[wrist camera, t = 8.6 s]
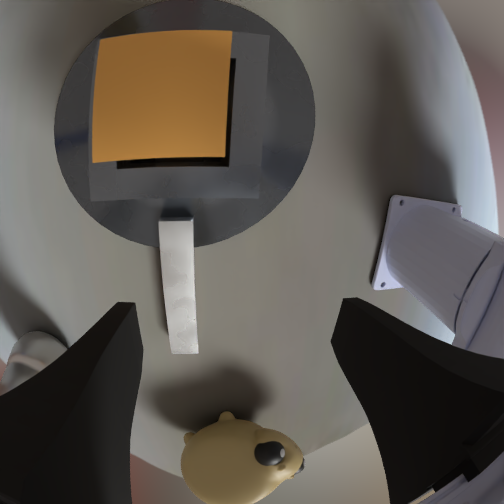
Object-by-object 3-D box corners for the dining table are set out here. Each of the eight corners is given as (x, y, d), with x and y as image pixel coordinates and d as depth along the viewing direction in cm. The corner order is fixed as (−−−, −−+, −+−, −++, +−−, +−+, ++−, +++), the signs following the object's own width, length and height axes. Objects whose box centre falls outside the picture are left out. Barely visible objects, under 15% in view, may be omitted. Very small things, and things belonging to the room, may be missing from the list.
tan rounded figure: (297, 419, 28) (325, 493, 19) (211, 450, 29) (221, 520, 19) (263, 380, 24) (293, 479, 15) (162, 418, 25) (163, 506, 15)
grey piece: (315, 18, 13) (340, -3, 9) (284, 334, 22) (298, 366, 19) (74, 19, 10) (51, 0, 6) (91, 337, 19) (79, 369, 16)
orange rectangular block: (216, 81, 13) (232, 31, 6) (212, 148, 15) (225, 157, 8) (145, 83, 13) (100, 39, 5) (143, 150, 14) (92, 163, 7)
